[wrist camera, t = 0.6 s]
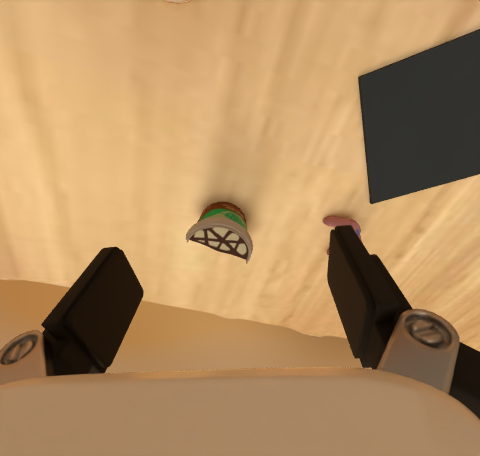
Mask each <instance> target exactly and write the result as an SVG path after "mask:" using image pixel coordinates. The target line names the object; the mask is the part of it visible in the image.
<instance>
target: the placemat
mask: <svg viewBox="0 0 480 456" xmlns="http://www.w3.org/2000/svg"><path fill="white" fill-rule="evenodd" d="M358 79H359V89H360V100H361V110H362V121H363V131H364V142H365V152H366V163H367V173H368V184H369V194H370V203H371V204H374V203H377V202H381V201H384V200H388V199H392V198H395V197H399V196H402V195H406V194H410V193H413V192H417V191H420V190H424V189H428V188H431V187H435V186H438V185H442V184H446V183H449V182H453V181H456V180H460V179H464V178H467V177H471V176H474V175H478V174H480V29H479V30H477V31H474V32H472V33H469V34H467V35H464V36H462V37H459V38H457V39H454V40H451V41H449V42H446V43H444V44H441V45H439V46H436V47H434V48H431V49H429V50H426V51H424V52H421V53H418V54H416V55H413V56H411V57H408V58H406V59H403V60H401V61H398V62H396V63H393V64H390V65H388V66H385V67H383V68H380V69H378V70H375V71H373V72H370V73H368V74H365V75H362V76H360V77H358Z"/></svg>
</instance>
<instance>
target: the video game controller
mask: <svg viewBox="0 0 480 456" xmlns="http://www.w3.org/2000/svg"><path fill="white" fill-rule="evenodd" d="M323 222H324V223H325V224H326V225H328V226H332V227H336V226H342V225H351V226H352V227H353V229H354V230H355V232H356V234H357V235H358V237H359V238H360V240H361V236H360V232H361V229H360V226H359V224H358V223H357V222H356V221H355V220H353V219H345V218H340V217H327V218H325V219H324V220H323ZM361 242H362V241H361ZM327 254H328V255H329V250H327Z"/></svg>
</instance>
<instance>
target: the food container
mask: <svg viewBox="0 0 480 456" xmlns="http://www.w3.org/2000/svg"><path fill="white" fill-rule="evenodd" d="M186 240H187V242H188V240H192V241H194V242H198V243H201V244H203V245H206V246H208V247H210V248H212V249H214V250H217V251H220V252H223V253H228V254H231V255H234V256H237V257H240V258H243V259H246V263H248V262H249V260H250V257H251V254H252V250H253V244H252V240H251V237H250V235H249V233H248V232H247V226H246V219H245V216H244V213H243V212H242V211H241V209H240V208H238V207H237V206H236V205H234V204H232V203H229V202H217V203H214V204H211V205H210V206H208V207H207V208H206V209H205V210H204V212H203V213H202V215H201V217H200V219H199V220H198V222H197V223H196V224H194V225H193V226H192V227H191V228H190V229H189V231H188V232H187V234H186Z"/></svg>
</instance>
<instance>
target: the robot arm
mask: <svg viewBox="0 0 480 456" xmlns="http://www.w3.org/2000/svg"><path fill="white" fill-rule="evenodd" d="M165 1H168V2H173V3H184V2H189V1H191V0H165ZM327 279H328V284H329V287H330V290H331V293H332V296H333V298H334V301H335V304H336V307H337V310H338V313H339V316H340V318H341V321H342V324H343V327H344V330H345V333H346V336H347V338H348V341H349V344H350V347H351V350H352V353H353V355H354V357H355V358H360V361H361V364H362V367H363V368H349V367H347V368H346V367H291V368H290V367H288V368H253V369H252V368H251V369H216V370H185V371H156V372H129V373H105V371H106V369H107V367H109V366H110V365H111V364H112V362H113V359H114V358H115V355H116V353H117V351H118V349H119V347H120V345H121V343H122V340H123V338H124V336H125V334H126V332H127V329H128V328H129V325H130V323H131V321H132V319H133V317H134V315H135V313H136V310H137V308H138V306H139V304H140V302H141V300H142V297H143V289H142V287H141V285H140V283H139V281H138V279H137V277H136V275H135V273H134V271H133V269H132V268H131V266H130V264H129V262H128V260H127V258H126V256H125V254H124V252H123V251H122V250H120V249H119V248H118V247H109V248H103V249H102V250H101V251H100V252H99V253H98V255H97V256H96V257H95V258H94V260H93V261H92V262H91V263H90V264H89V266H88V267H87V268H86V269H85V271H84V272H83V273H82V274H81V276H80V277H79V278H78V279H77V281H76V282H75V283H74V284H73V286H72V287H71V288H70V289H69V291H68V292H67V293H66V294H65V296H64V297H63V298H62V299H61V300H60V302H59V303H58V304H57V306H56V307H55V308H54V309H53V310H52V312H51V313H50V314H49V315H48V317H47V318H46V319H45V320H44V322H43V323H42V326H43V327H44V328H45V330H44V331H43V333H41V332H40V331H38V330H32V331H28V332H25V333H23V334H21V335H19V336H17V337H15V338H14V339H12V340H11V341H10V342H9V343H7V344H6V345H5V346H4V347H3V348H2V349H1V350H0V456H480V352H479V351H477V350H475V349H473V348H471V347H469V346H467V345H465V344H463V343H461V342H459V336H458V333H457V331H456V330H455V328H454V327H453V326H452V325H451V324H450V323H449V322H448V321H446V320H445V319H444V318H442V317H441V316H439V315H437V314H435V313H433V312H430V311H426V310H421V309H412V307H411V306H410V304H409V303H408V301H407V300H406V298H405V297H404V295H403V294H402V292H401V291H400V289H399V287H398V286H397V284H396V283H395V281H394V280H393V278H392V277H391V275H390V274H389V272H388V271H387V269H386V268H385V266H384V265H383V263H382V262H381V260H380V259H379V257H378V256H377V255H375V254H373V255H369V253H368V251H367V250H366V248H365V247H364V245H363V243H362V242H361V240H360V238H359V237H358V235H357V234H356V232H355V230H354V229H353V227H352V226H351V225H342V226H336V227H335V230H331V233H330V247H329V260H328V273H327ZM369 367H371V368H372V369H365V368H369Z"/></svg>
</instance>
